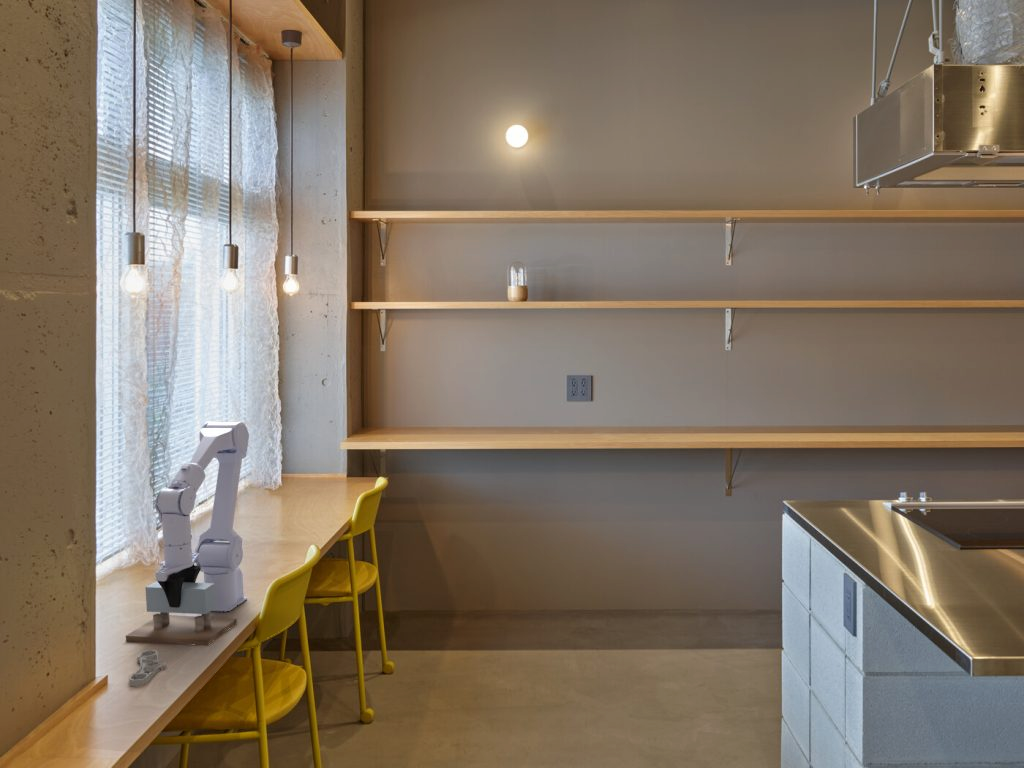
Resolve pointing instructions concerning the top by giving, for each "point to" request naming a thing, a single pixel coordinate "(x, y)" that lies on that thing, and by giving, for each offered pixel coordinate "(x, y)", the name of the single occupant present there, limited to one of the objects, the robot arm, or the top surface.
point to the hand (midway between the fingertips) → (181, 603)
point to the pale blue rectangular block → (182, 598)
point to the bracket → (146, 668)
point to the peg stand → (181, 629)
